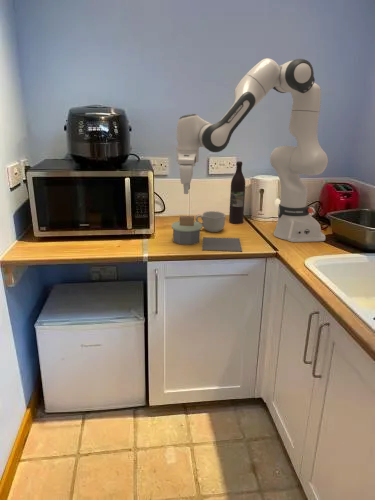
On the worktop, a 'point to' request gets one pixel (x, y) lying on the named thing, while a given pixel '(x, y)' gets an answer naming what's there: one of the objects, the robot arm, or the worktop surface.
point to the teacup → (212, 220)
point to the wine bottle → (237, 196)
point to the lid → (186, 224)
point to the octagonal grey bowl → (186, 237)
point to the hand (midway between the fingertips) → (186, 191)
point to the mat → (221, 244)
